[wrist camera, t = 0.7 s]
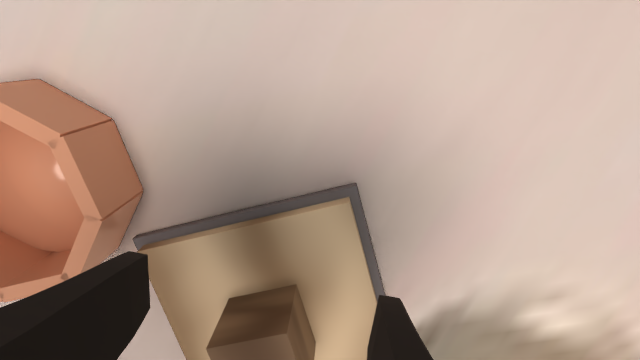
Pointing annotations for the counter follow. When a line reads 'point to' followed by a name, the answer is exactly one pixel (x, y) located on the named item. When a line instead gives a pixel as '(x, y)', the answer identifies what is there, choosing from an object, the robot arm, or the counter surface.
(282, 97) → the counter surface
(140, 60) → the counter surface
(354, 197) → the mat
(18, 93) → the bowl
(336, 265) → the lid
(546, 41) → the counter surface
